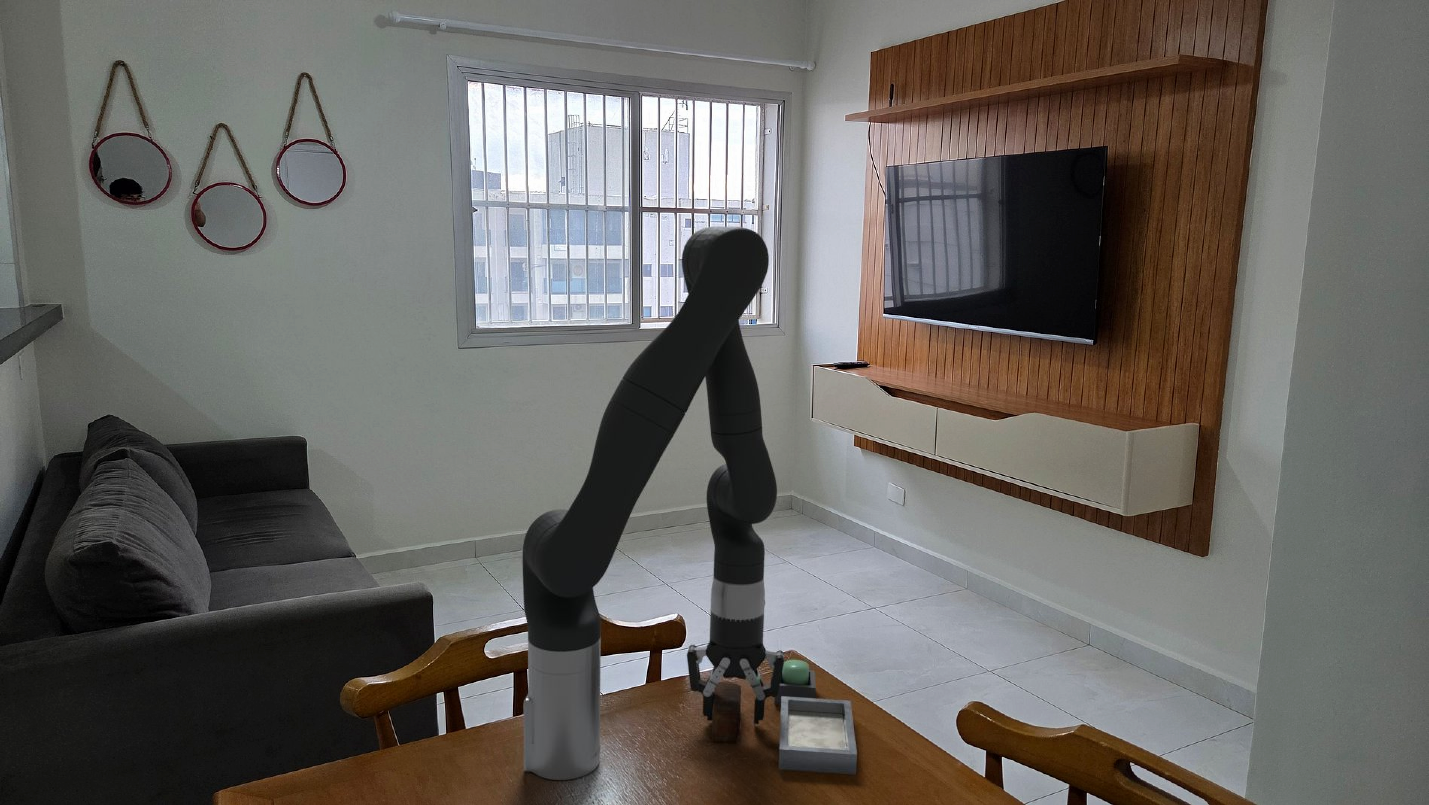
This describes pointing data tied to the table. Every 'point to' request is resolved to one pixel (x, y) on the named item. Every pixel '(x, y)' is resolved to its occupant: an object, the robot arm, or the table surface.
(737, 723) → the brick
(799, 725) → the tray
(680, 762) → the table surface
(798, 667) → the button
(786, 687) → the button box
